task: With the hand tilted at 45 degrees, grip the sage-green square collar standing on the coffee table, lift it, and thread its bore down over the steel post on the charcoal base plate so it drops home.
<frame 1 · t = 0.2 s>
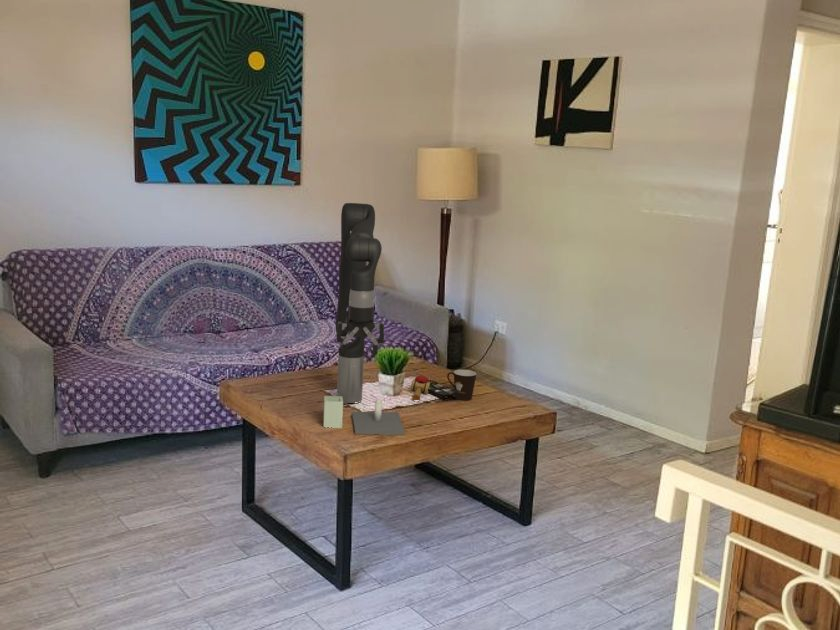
hand: (359, 355, 244), 29 cm above the table, tool pointing down, fingers open, 8 cm apart
collar: (332, 424, 266), on the table
coffee mug: (461, 397, 305), on the table
kendama: (419, 395, 304), on the table
hub stand: (377, 425, 269), on the table
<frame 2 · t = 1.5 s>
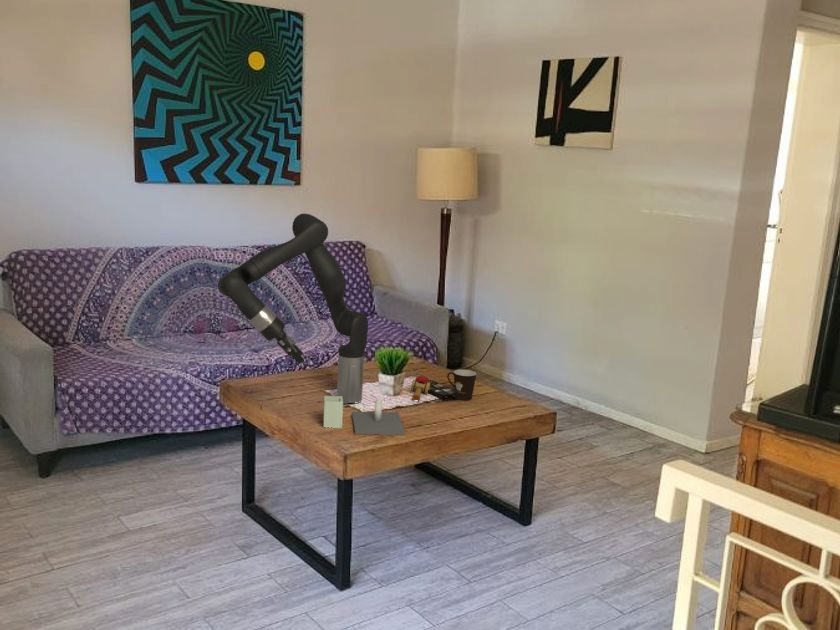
hand: (301, 358, 259), 23 cm above the table, tool tilted 45°, fingers open, 8 cm apart
nothing on the table moved.
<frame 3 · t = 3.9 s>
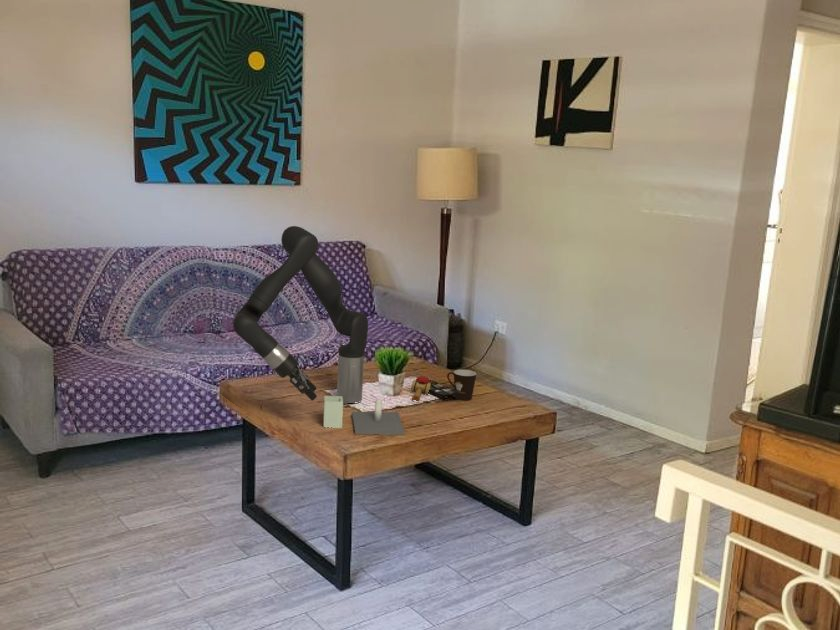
hand: (314, 394, 263), 10 cm above the table, tool tilted 45°, fingers open, 8 cm apart
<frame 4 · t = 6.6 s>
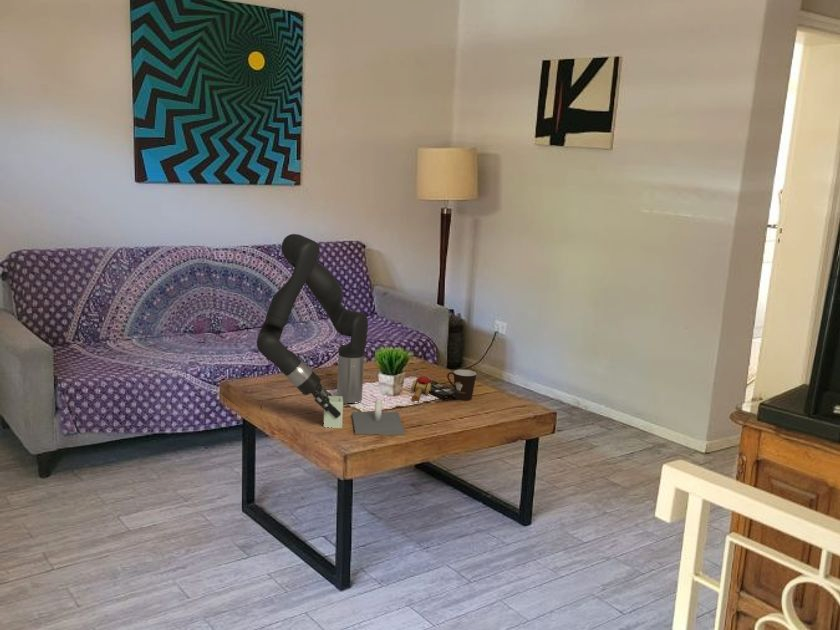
hand: (338, 412, 266), 4 cm above the table, tool tilted 45°, fingers closed on collar, 6 cm apart
collar: (332, 424, 266), on the table, touching gripper
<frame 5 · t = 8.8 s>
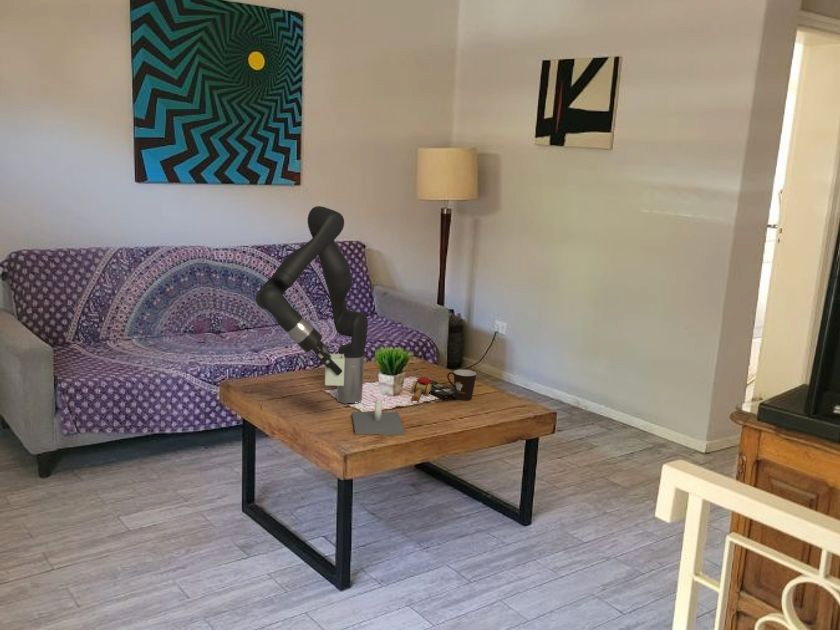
hand: (339, 370, 263), 19 cm above the table, tool tilted 45°, fingers closed on collar, 6 cm apart
collar: (334, 382, 263), point 15 cm above the table, touching gripper
when the fingers open (7 cm above the table, at t = 14.0 s): collar drops 1 cm, resting on hub stand.
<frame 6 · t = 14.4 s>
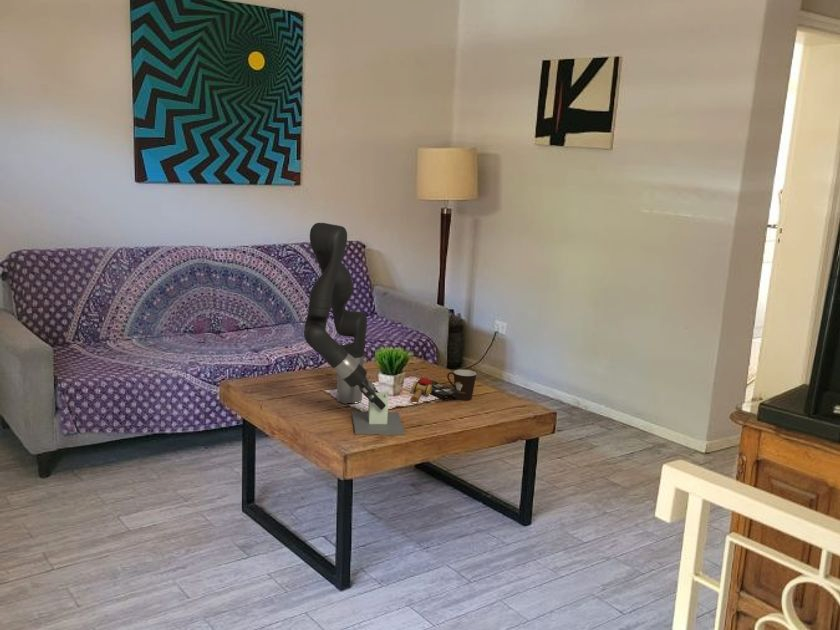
hand: (382, 403, 267), 8 cm above the table, tool tilted 45°, fingers open, 8 cm apart
collar: (377, 420, 268), point 1 cm above the table, touching hub stand
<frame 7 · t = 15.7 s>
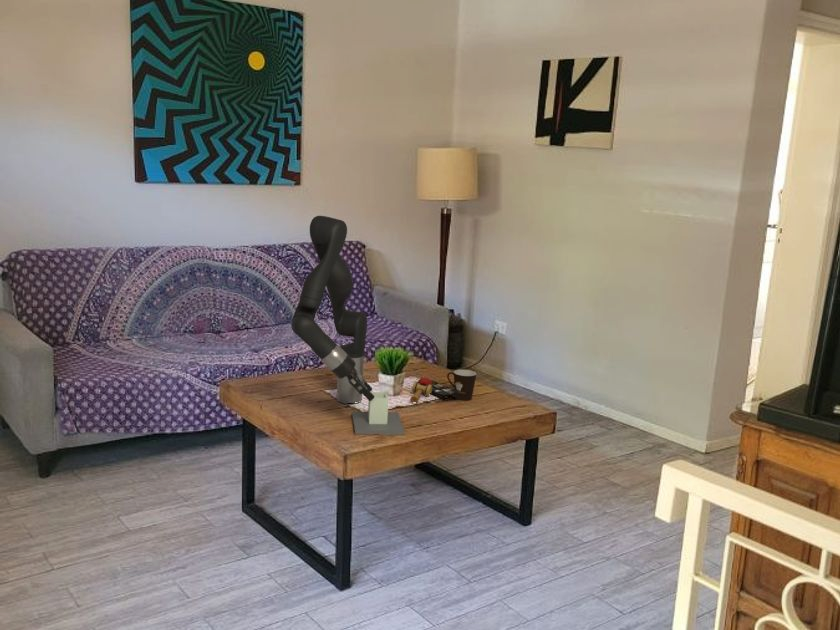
hand: (371, 394, 266), 11 cm above the table, tool tilted 45°, fingers open, 8 cm apart
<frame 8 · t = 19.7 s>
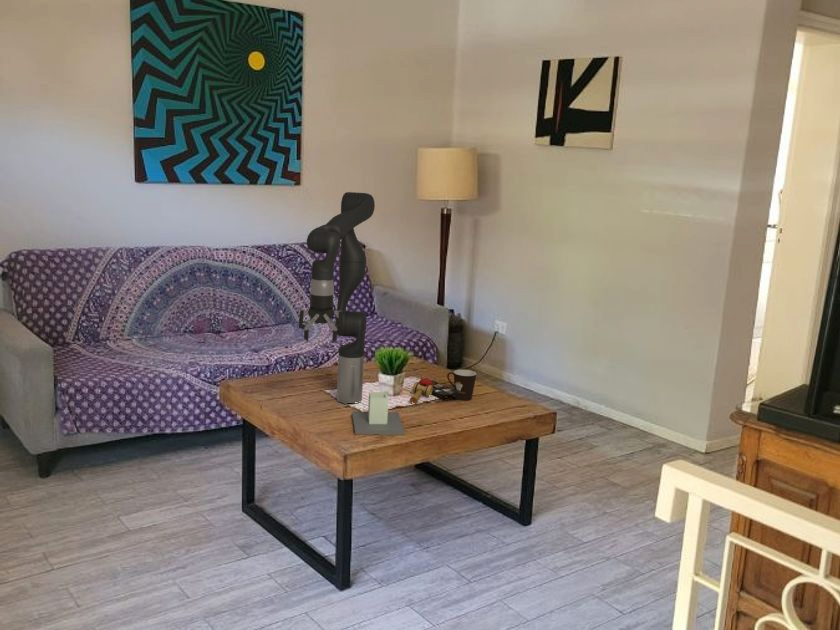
hand: (320, 341, 262), 28 cm above the table, tool pointing down, fingers open, 8 cm apart
at the end: collar 0.1 cm off-centre on the hub stand, point 1.5 cm above the hub stand's base; collar tilted 0°; the gripper is holding nothing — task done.
